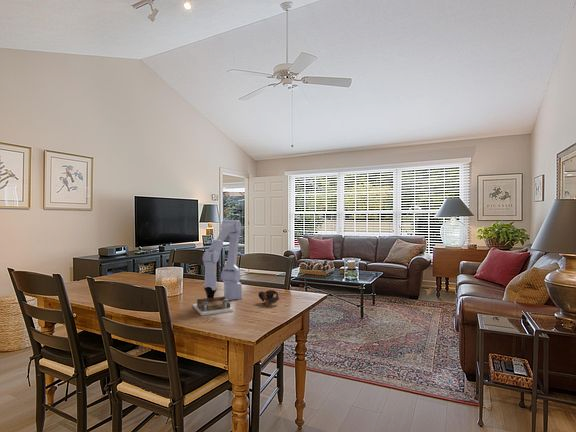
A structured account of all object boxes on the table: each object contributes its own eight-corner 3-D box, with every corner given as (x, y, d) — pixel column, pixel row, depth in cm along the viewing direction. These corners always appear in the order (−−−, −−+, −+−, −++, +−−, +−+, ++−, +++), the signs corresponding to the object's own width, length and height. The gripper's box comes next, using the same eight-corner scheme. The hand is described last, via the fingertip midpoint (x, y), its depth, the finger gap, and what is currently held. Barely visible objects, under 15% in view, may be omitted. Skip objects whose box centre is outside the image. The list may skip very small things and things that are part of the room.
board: (221, 302, 179) (221, 293, 179) (232, 311, 164) (232, 300, 164) (192, 306, 172) (192, 296, 172) (201, 315, 156) (202, 304, 156)
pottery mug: (281, 302, 183) (282, 291, 179) (274, 314, 175) (275, 303, 171) (261, 295, 186) (261, 284, 182) (253, 306, 179) (254, 295, 174)
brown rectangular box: (224, 303, 173) (224, 296, 173) (230, 307, 165) (230, 300, 165) (197, 306, 167) (197, 299, 167) (201, 311, 159) (201, 303, 159)
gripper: (199, 273, 175) (198, 299, 175) (206, 277, 163) (206, 306, 163) (212, 272, 179) (212, 297, 179) (220, 276, 166) (220, 304, 166)
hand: (210, 301), depth 171 cm, fingers closed
